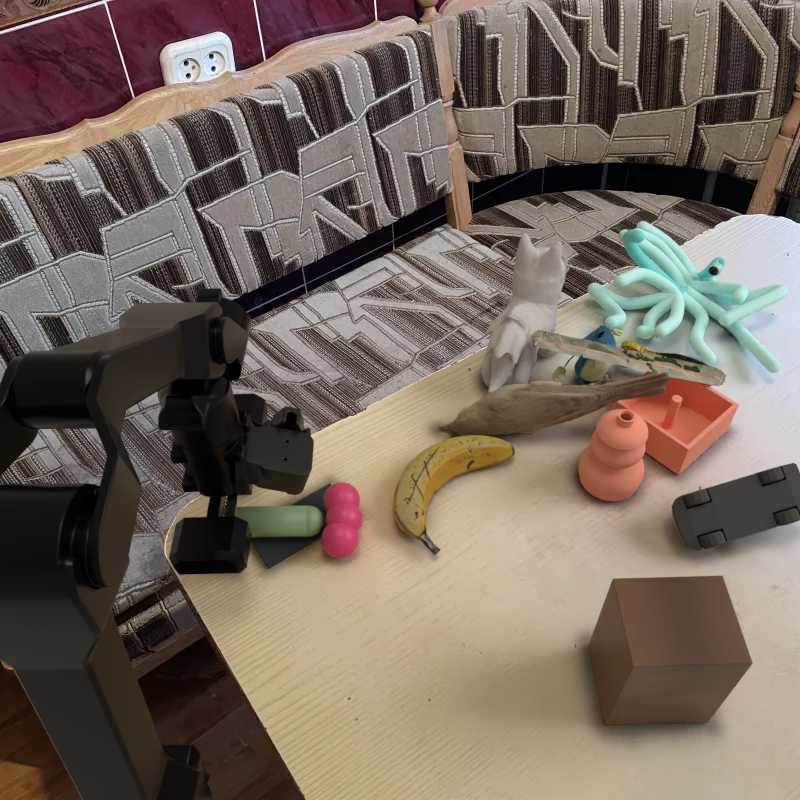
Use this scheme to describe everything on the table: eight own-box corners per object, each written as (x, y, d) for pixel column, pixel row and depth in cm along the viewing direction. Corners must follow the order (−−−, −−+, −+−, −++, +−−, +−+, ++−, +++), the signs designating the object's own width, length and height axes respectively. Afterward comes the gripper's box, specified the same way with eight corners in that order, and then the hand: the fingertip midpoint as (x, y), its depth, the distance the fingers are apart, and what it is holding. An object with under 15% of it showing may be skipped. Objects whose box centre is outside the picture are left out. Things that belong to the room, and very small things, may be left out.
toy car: (695, 556, 69) (675, 556, 74) (825, 516, 70) (798, 519, 75) (672, 495, 70) (655, 499, 75) (801, 456, 71) (775, 463, 76)
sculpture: (665, 380, 81) (677, 410, 77) (446, 434, 87) (447, 465, 83) (657, 334, 78) (669, 364, 74) (429, 395, 84) (429, 425, 80)
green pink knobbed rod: (210, 565, 73) (201, 552, 70) (219, 493, 77) (211, 477, 74) (362, 562, 73) (360, 549, 70) (364, 490, 77) (361, 475, 74)
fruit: (433, 562, 72) (433, 545, 70) (368, 507, 77) (367, 489, 75) (533, 470, 80) (536, 452, 77) (469, 425, 84) (470, 406, 82)
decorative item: (613, 365, 90) (622, 342, 85) (615, 359, 90) (624, 336, 85) (709, 394, 87) (723, 373, 83) (710, 388, 87) (724, 366, 83)
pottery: (655, 384, 88) (675, 320, 80) (727, 430, 83) (756, 366, 75) (551, 467, 80) (564, 404, 72) (624, 523, 75) (646, 462, 68)
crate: (604, 725, 62) (632, 666, 53) (588, 643, 67) (612, 578, 58) (708, 722, 62) (753, 663, 53) (685, 641, 67) (722, 575, 58)
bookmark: (533, 330, 82) (535, 327, 82) (722, 370, 83) (724, 367, 82) (532, 348, 81) (533, 345, 80) (725, 389, 81) (727, 386, 81)
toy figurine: (570, 414, 85) (581, 366, 79) (542, 394, 87) (550, 346, 81) (636, 363, 90) (650, 315, 84) (608, 345, 92) (620, 297, 87)
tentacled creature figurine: (629, 201, 84) (692, 174, 96) (554, 279, 94) (620, 246, 106) (786, 373, 80) (831, 322, 92) (690, 436, 90) (742, 383, 102)
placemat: (268, 569, 72) (268, 566, 72) (244, 533, 75) (244, 530, 75) (356, 517, 76) (356, 515, 76) (330, 485, 79) (330, 482, 79)
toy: (578, 320, 95) (588, 217, 84) (516, 423, 84) (518, 319, 73) (530, 308, 97) (534, 206, 87) (465, 405, 87) (459, 303, 76)
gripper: (293, 515, 57) (314, 612, 69) (308, 346, 70) (325, 452, 81) (146, 519, 57) (192, 616, 69) (188, 349, 70) (221, 455, 81)
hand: (239, 527), depth 75 cm, fingers open, 9 cm apart
